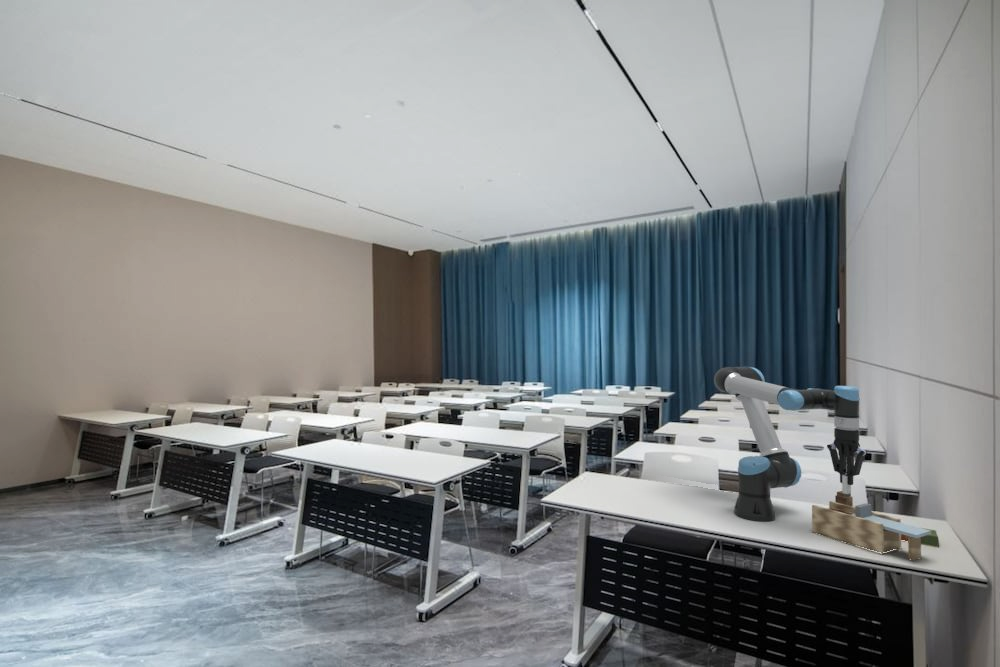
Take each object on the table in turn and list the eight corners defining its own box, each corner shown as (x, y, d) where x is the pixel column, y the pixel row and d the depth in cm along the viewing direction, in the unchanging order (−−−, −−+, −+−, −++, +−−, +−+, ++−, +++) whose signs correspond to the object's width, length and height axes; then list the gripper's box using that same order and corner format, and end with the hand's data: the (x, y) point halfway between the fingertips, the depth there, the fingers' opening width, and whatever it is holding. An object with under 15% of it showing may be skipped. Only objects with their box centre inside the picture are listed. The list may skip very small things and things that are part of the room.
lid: (846, 518, 178) (846, 504, 178) (860, 514, 182) (860, 501, 182) (916, 538, 160) (916, 522, 160) (930, 533, 163) (930, 518, 164)
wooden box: (812, 532, 187) (811, 505, 188) (831, 527, 193) (831, 501, 193) (907, 563, 160) (906, 531, 161) (926, 556, 166) (925, 525, 166)
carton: (880, 531, 189) (880, 520, 189) (936, 541, 180) (936, 529, 180) (881, 538, 183) (880, 526, 183) (939, 548, 173) (939, 536, 173)
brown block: (842, 525, 195) (841, 489, 196) (853, 528, 192) (853, 492, 192) (835, 527, 193) (834, 491, 193) (846, 530, 189) (845, 494, 190)
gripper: (822, 426, 188) (822, 489, 188) (859, 432, 176) (859, 499, 176) (834, 425, 191) (834, 487, 191) (872, 430, 180) (872, 496, 179)
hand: (846, 492), depth 184 cm, fingers closed
